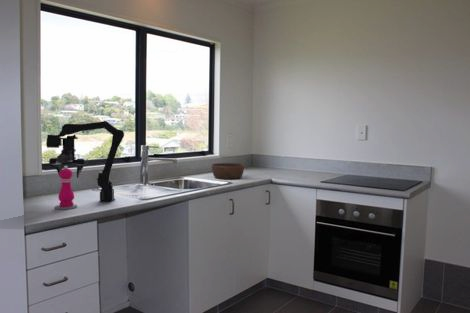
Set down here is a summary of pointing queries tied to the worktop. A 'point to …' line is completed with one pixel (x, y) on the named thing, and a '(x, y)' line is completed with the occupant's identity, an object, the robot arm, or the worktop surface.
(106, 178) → the robot arm
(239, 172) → the wooden bowl
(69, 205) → the pepper mill
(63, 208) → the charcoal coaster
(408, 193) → the worktop surface
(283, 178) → the worktop surface
